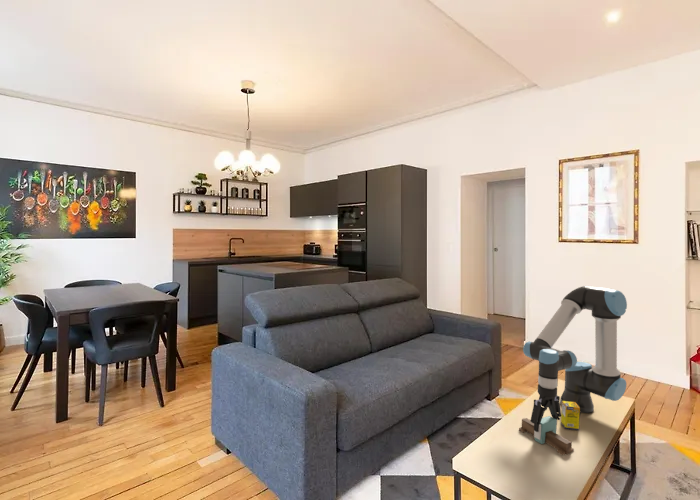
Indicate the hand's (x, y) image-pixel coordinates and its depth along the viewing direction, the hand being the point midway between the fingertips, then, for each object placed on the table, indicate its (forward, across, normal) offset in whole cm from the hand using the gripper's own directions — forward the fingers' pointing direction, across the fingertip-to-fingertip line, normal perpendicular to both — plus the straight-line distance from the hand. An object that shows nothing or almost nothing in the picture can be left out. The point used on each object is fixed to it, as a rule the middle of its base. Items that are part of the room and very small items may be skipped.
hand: (545, 435), depth 167 cm
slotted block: (+2, 0, 0) cm, 2 cm away
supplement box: (+2, -21, -3) cm, 21 cm away
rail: (+2, 0, 0) cm, 2 cm away
